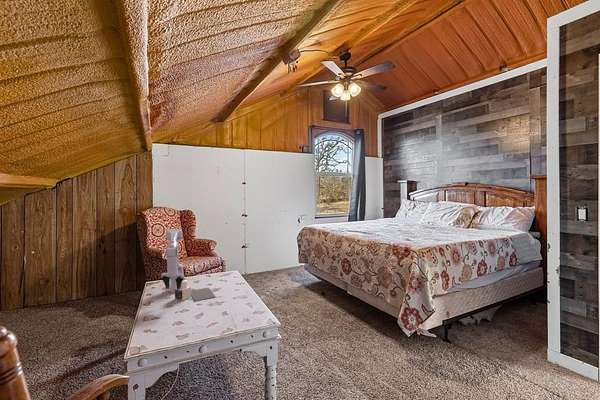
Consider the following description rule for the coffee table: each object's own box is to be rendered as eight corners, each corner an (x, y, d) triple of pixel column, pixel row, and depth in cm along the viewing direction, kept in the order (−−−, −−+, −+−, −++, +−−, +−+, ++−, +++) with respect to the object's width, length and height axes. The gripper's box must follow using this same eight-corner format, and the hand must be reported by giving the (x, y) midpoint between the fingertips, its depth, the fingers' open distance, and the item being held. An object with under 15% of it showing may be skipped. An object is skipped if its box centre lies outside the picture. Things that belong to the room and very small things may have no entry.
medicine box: (174, 299, 181) (174, 281, 180) (183, 295, 187) (183, 277, 186) (182, 301, 177) (181, 282, 177) (191, 297, 184) (190, 279, 183)
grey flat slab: (189, 291, 194) (189, 291, 193) (208, 288, 200) (208, 287, 200) (194, 301, 176) (194, 300, 176) (215, 297, 183) (215, 296, 183)
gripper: (157, 268, 168) (158, 290, 169) (178, 269, 165) (179, 291, 166) (165, 265, 175) (166, 286, 176) (185, 265, 172) (186, 287, 173)
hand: (173, 288), depth 171 cm, fingers open, 7 cm apart
